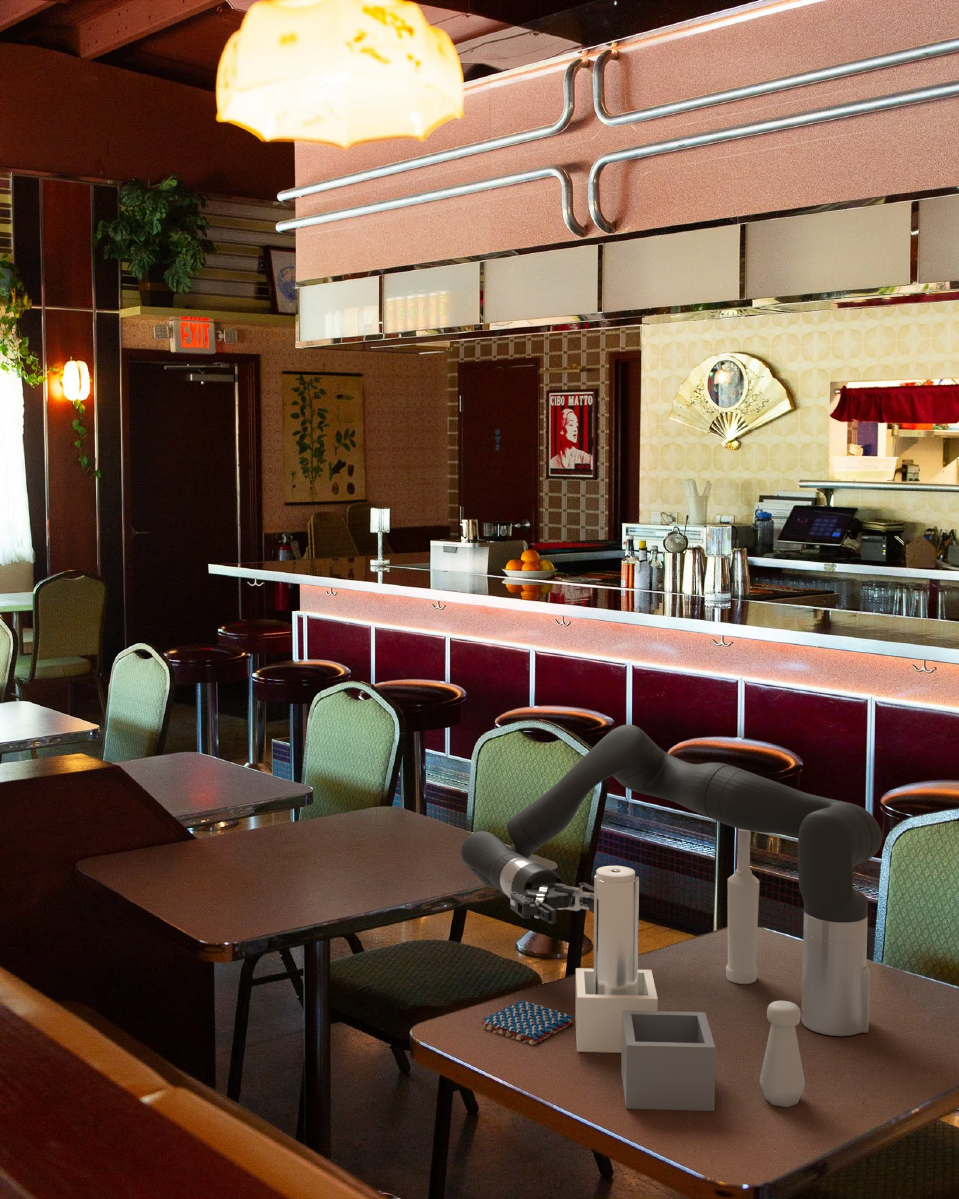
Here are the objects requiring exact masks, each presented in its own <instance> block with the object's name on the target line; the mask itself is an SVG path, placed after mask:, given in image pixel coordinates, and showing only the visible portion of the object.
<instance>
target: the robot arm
mask: <svg viewBox="0 0 959 1199" xmlns="http://www.w3.org/2000/svg"><path fill="white" fill-rule="evenodd" d="M610 777H613V778H614V779H615V780H616V781H617V782H618V783H619V784H620V785H621V786H623V787H624V788H626V789H627V790H629V791H632V792H635V793H639V794H643V795H647V796H651V797H655V798H660V799H664V800H668V801H671V802H674V803H676V804H678V805H680V806H682V807H684V808H686V809H688V810H691V811H693V812H695V813H697V814H700V815H703V816H704V817H707V818H708V819H710V820H714V821H717V822H718V823H721V824H724V825H726V826H730V827H732V828H735V829H743V830H748V831H751V832H757V833H764V834H776V835H784V836H791V837H796V838H797V863H798V864H797V867H798V868H797V870H798V887H799V891H800V894H801V895H800V896H801V897H802V899H803V935H802V936H803V937H802V938H803V939H802V940H803V942H802V972H801V974H802V975H801V977H802V978H801V980H802V981H801V1005H800V1006H801V1008H800V1012H801V1018H800V1021H801V1024H802V1025H803V1026H804V1027H806V1028H807V1029H808V1030H810V1031H812V1032H815V1033H818V1034H822V1035H827V1036H832V1037H833V1036H836V1037H838V1036H839V1037H846V1036H847V1037H849V1036H854V1035H857V1034H862V1033H869V1026H870V1025H869V1024H870V1023H869V1020H870V991H871V990H870V987H871V985H870V983H871V982H870V981H871V969H870V968H869V967H868V965H867V949H868V948H867V947H868V946H867V944H868V942H867V941H868V914H869V913H868V912H869V901H868V898H867V896H866V895H865V894H864V893H863V892H861V891H859V890H857V889H854V888H855V887H854V878H853V877H854V876H853V875H854V874H853V872H854V871H853V868H854V867H856V866H857V865H858V866H859V865H860V864H863V863H866V862H867V861H868V860H871V859H872V858H873V857H874V856H875V855H876V854H877V853H878V852H879V850H880V848H881V846H882V842H883V834H882V829H881V827H880V824H879V823H878V822H877V820H876V819H875V817H874V816H873V814H871V812H869V811H868V810H866V808H864V807H862V806H860V805H857V804H854V803H851V802H846V801H844V800H843V801H842V800H837V799H832V798H830V797H829V798H828V797H824V796H818V795H815V794H811V793H808V792H807V793H806V792H804V791H801V790H798V789H795V788H793V787H790V786H788V785H785V784H783V783H780V782H778V781H774V780H772V779H769V778H766V777H763V776H761V775H758V774H756V773H753V772H751V771H748V770H745V769H742V768H739V767H736V766H734V765H730V764H727V763H724V762H705V763H698V764H697V763H691V762H687V761H685V760H682V759H680V758H678V757H675V756H673V755H671V754H669V753H668V752H666V751H664V750H663V749H662V748H661V747H660V746H659V745H657V744H656V743H655V742H654V740H653V739H651V738H650V736H649V735H648V734H646V732H645V731H643V729H641V728H640V727H639V726H637V725H634V724H623V725H620V726H617V727H615V728H614V729H612V730H611V731H609V732H608V733H607V734H606V735H605V736H604V737H602V739H600V740H599V741H598V742H597V743H596V744H595V745H594V746H593V747H592V748H591V749H590V750H589V751H588V752H587V753H586V754H585V755H584V756H583V757H582V758H581V759H579V761H578V762H576V764H575V765H573V767H572V768H571V769H570V770H569V771H568V772H567V773H566V774H565V775H564V776H563V777H562V778H561V779H560V780H558V782H557V783H555V784H554V785H553V786H552V787H551V788H550V789H549V790H547V792H545V793H544V794H543V795H541V796H540V797H539V798H537V799H536V800H534V801H533V802H531V804H530V803H529V805H528V806H526V807H525V808H524V809H522V810H521V811H520V812H517V814H515V815H514V816H513V817H511V818H510V819H509V820H508V821H507V823H506V831H507V834H508V836H509V838H510V840H511V842H512V845H511V846H510V847H509V846H508V845H507V844H506V843H505V842H504V841H502V839H500V838H498V837H497V836H496V835H495V834H493V833H492V832H489V831H486V830H481V831H479V830H478V831H475V832H473V833H470V834H469V835H468V836H466V838H465V839H464V840H463V842H462V844H461V848H460V857H461V859H462V860H461V861H462V862H463V863H464V865H466V867H467V868H468V869H469V870H470V871H471V872H472V873H473V874H475V876H476V877H477V879H479V880H480V882H482V883H483V884H484V885H485V886H486V887H487V888H492V889H493V888H496V889H497V890H499V891H500V892H502V893H503V894H504V895H506V896H507V898H509V899H510V905H509V907H510V908H509V909H510V910H512V911H513V912H514V913H515V914H517V915H518V916H520V917H521V918H522V919H524V920H527V919H530V918H531V916H534V918H535V919H541V920H542V921H544V922H547V923H548V924H549V925H553V924H556V923H557V911H556V910H560V911H563V910H568V911H574V912H578V911H580V910H581V909H583V910H588V911H589V912H590V913H593V914H594V885H590V884H588V883H587V882H579V883H578V887H576V886H569V885H566V884H565V883H563V880H562V879H561V877H560V875H558V873H556V872H555V871H554V870H552V869H550V868H548V867H547V866H545V865H543V864H541V863H539V862H537V861H536V860H534V859H531V856H532V855H533V854H534V853H535V852H536V851H537V850H538V849H540V848H541V847H542V846H544V845H545V844H547V843H548V842H550V841H551V840H552V839H554V838H555V837H557V835H559V834H560V833H562V832H563V831H565V829H566V828H567V827H568V825H569V824H570V823H571V822H572V820H573V819H574V817H575V815H576V814H577V812H578V810H579V808H580V806H581V805H582V803H583V802H584V800H585V798H586V797H587V796H588V794H589V793H590V792H591V791H592V790H593V789H594V788H595V787H596V786H598V785H599V784H600V783H602V782H603V781H605V780H607V779H608V778H610ZM574 899H575V900H574ZM573 900H574V904H572V902H573ZM584 902H586V903H584Z"/></svg>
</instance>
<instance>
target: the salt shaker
mask: <svg viewBox="0 0 959 1199" xmlns="http://www.w3.org/2000/svg"><path fill="white" fill-rule="evenodd" d="M801 1016H802V1011H801V1008H800V1007H799V1006H798V1005H797V1004H796V1003H794V1002H792V1001H788V1000H775V1001H771V1003H769V1005H768V1006H767V1009H766V1018H767V1020H768V1021H769V1023H770V1028H769V1029H770V1030H769V1033H768V1039H767V1043H766V1048H765V1053H764V1057H763V1062H762V1067H761V1071H760V1077H759V1085H760V1088H761V1090H762V1093H763V1096H764V1098H765V1100H766V1101H768V1102H769V1103H770V1104H771V1105H773V1106H776V1107H778V1106H779V1107H785V1108H788V1107H792V1106H795V1105H798V1104H799V1100H800V1099H801V1097H802V1095H803V1092H804V1090H805V1087H806V1086H805V1085H806V1081H805V1075H804V1070H803V1069H804V1068H803V1065H802V1057H801V1053H800V1048H799V1047H800V1046H799V1040H798V1036H797V1030H796V1026H797V1025H799V1024H800V1021H801Z"/></svg>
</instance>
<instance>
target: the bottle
mask: <svg viewBox="0 0 959 1199" xmlns="http://www.w3.org/2000/svg"><path fill="white" fill-rule="evenodd" d="M751 832H752V831H748V830H743V829H739V828H737V841H738V842H737V868H736V869H735V872H734V873H733V874H732V875H730V876H729V877H728V878H727V965H726V966H725V975H726V979H727V980H728V981H729V982H732V983H735V984H740V985H749V984H754V983H755V982H756V981H757V979H758V967H757V949H758V948H757V946H758V945H757V944H758V924H759V923H758V922H759V901H760V900H759V897H760V879H758V878H757V877H756V876H755V875H754V874H753V873H752V872H753V871H752V870H751V867H750V866H751V836H752V835H751ZM753 982H754V983H753Z"/></svg>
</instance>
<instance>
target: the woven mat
mask: <svg viewBox="0 0 959 1199" xmlns="http://www.w3.org/2000/svg"><path fill="white" fill-rule="evenodd" d="M573 1018H574V1016H572V1015H568V1014H566V1012H558V1010H557V1009H551V1008H548V1007H544V1006H543V1005H538V1004H535V1003H534V1002H533V1003H532V1002H528V1001H525V1000H521V1001H518V1000H517V1001H516V1002H515V1004H513V1005H512V1004H510V1005H509V1007H504V1008H502V1010H500V1011H499V1010H498V1011H497V1012H496V1013H493V1014H492V1013H491V1014H490V1015H489V1016H488V1017H486V1016H485V1017H483V1020H482V1021H481V1025H484V1026H482V1027H481V1030H484V1029H486V1030H487V1031H490V1032H491V1031H492V1033H493V1034H496V1033H498V1034H499V1035H504V1034H505V1036H506V1037H511V1038H512V1039H515V1040H517V1041H522V1040H523V1041H522V1043H523V1044H525V1043H528V1044H529V1045H531V1046H533V1045H535V1044H537V1043H541V1042H542V1041H543V1040H545V1039H546V1038H549V1037H551V1036H553V1035H554V1034H556V1033H558V1032H560V1031H562V1030H563V1029H565V1028H567V1027H568V1026H569V1027H570V1026H573V1024H574V1021H573Z"/></svg>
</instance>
